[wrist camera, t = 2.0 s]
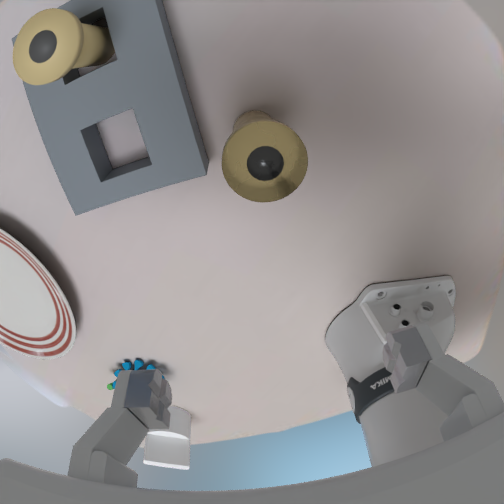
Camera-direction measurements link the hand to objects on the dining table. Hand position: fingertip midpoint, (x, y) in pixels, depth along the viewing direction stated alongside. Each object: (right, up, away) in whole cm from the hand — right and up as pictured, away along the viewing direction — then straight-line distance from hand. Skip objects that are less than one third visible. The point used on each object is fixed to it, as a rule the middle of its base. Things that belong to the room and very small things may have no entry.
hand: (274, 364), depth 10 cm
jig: (-14, +19, +14) cm, 27 cm away
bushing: (-1, +15, +18) cm, 23 cm away
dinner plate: (-38, -1, +27) cm, 47 cm away
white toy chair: (-18, -30, +48) cm, 59 cm away
